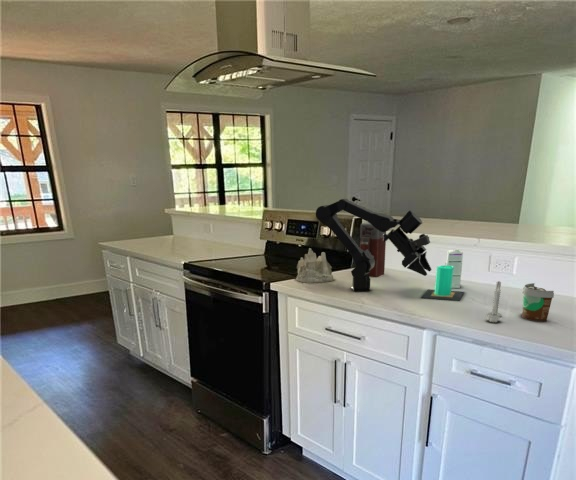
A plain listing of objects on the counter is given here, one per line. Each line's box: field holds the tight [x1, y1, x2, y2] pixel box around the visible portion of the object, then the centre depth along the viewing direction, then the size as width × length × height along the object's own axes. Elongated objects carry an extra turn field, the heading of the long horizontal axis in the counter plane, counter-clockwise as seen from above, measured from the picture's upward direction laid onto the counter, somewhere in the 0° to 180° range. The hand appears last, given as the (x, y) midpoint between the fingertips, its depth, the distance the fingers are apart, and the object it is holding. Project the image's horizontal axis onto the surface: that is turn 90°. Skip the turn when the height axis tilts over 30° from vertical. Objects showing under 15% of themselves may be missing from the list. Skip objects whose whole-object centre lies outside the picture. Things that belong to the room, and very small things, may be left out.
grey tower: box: [446, 249, 464, 289], centre depth 206 cm, size 6×6×14 cm
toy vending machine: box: [359, 211, 387, 278], centre depth 230 cm, size 9×11×28 cm
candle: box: [434, 262, 453, 296], centre depth 193 cm, size 6×6×12 cm
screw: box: [485, 280, 503, 323], centre depth 159 cm, size 13×5×5 cm
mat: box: [420, 288, 465, 302], centre depth 195 cm, size 14×14×1 cm
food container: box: [521, 282, 555, 322], centre depth 162 cm, size 12×6×10 cm, turn 5°
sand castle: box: [296, 247, 335, 284], centre depth 228 cm, size 16×16×15 cm
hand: (428, 272), depth 194 cm, fingers open, 9 cm apart
